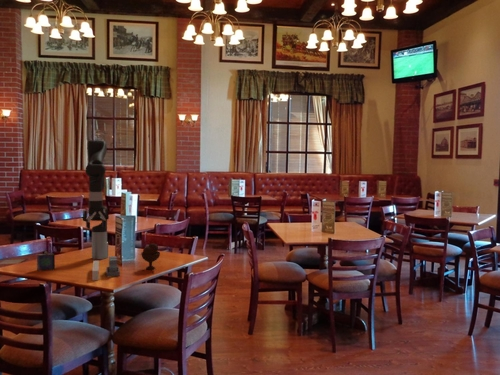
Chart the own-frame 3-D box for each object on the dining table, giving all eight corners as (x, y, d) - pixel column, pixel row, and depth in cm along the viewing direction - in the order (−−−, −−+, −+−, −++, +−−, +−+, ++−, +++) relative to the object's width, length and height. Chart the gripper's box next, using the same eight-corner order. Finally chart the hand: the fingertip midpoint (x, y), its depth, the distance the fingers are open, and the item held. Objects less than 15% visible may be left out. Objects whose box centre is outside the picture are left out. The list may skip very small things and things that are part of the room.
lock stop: (109, 270, 255) (109, 256, 254) (116, 270, 256) (116, 256, 256) (109, 274, 245) (109, 260, 245) (116, 274, 247) (116, 260, 246)
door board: (93, 269, 259) (93, 260, 259) (98, 269, 260) (98, 260, 259) (92, 280, 236) (92, 270, 236) (98, 280, 237) (98, 270, 237)
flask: (36, 270, 253) (36, 252, 253) (37, 269, 256) (37, 251, 255) (54, 269, 256) (54, 251, 256) (55, 268, 259) (55, 250, 258)
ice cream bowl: (151, 265, 271) (151, 241, 270) (163, 268, 264) (164, 243, 263) (137, 268, 263) (137, 243, 262) (149, 272, 256) (149, 246, 255)
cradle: (106, 271, 256) (106, 266, 256) (118, 270, 258) (118, 266, 258) (106, 276, 244) (106, 272, 243) (119, 276, 246) (119, 271, 246)
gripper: (104, 198, 261) (105, 225, 263) (80, 199, 252) (80, 228, 253) (110, 199, 256) (110, 227, 257) (86, 201, 246) (86, 230, 248)
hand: (95, 227), depth 255 cm, fingers open, 8 cm apart
